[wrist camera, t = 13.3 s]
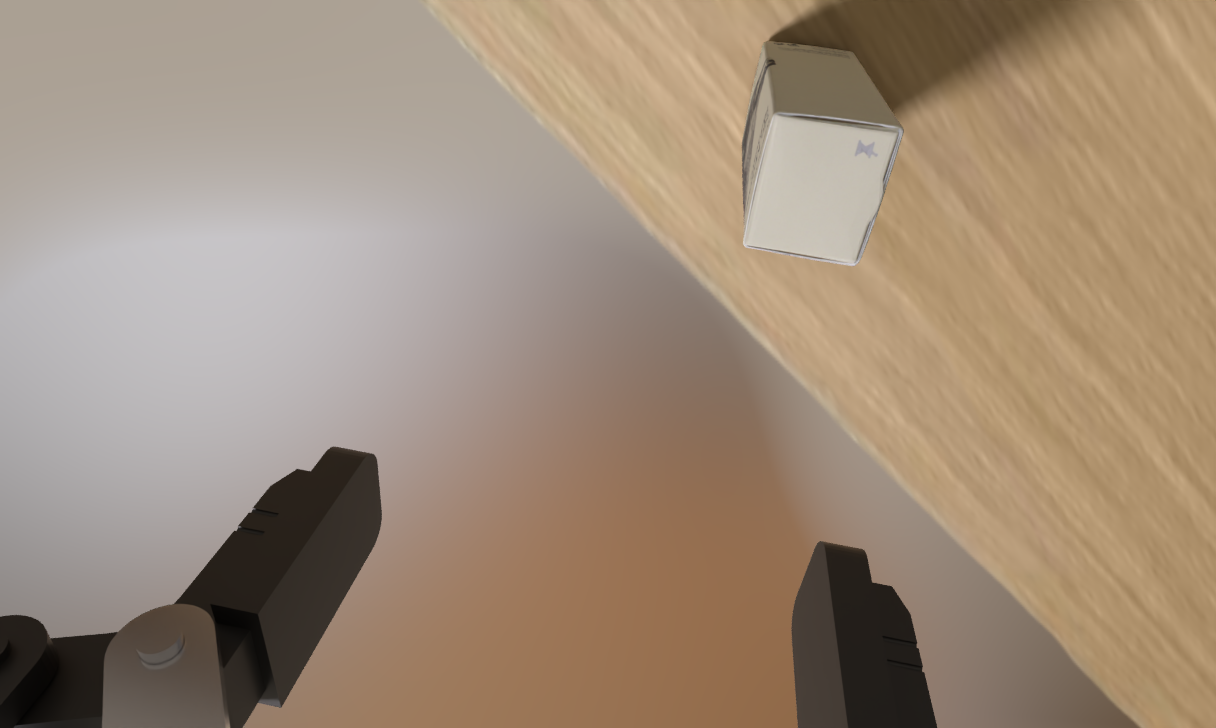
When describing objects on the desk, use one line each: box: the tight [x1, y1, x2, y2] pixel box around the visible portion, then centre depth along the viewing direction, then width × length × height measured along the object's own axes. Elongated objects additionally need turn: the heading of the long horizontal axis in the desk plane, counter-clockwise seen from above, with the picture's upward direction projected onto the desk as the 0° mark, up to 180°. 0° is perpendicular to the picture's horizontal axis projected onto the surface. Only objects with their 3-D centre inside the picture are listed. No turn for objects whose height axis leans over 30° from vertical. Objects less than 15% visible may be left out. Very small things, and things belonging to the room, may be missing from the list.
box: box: [742, 41, 904, 266], centre depth 30 cm, size 5×4×13 cm
